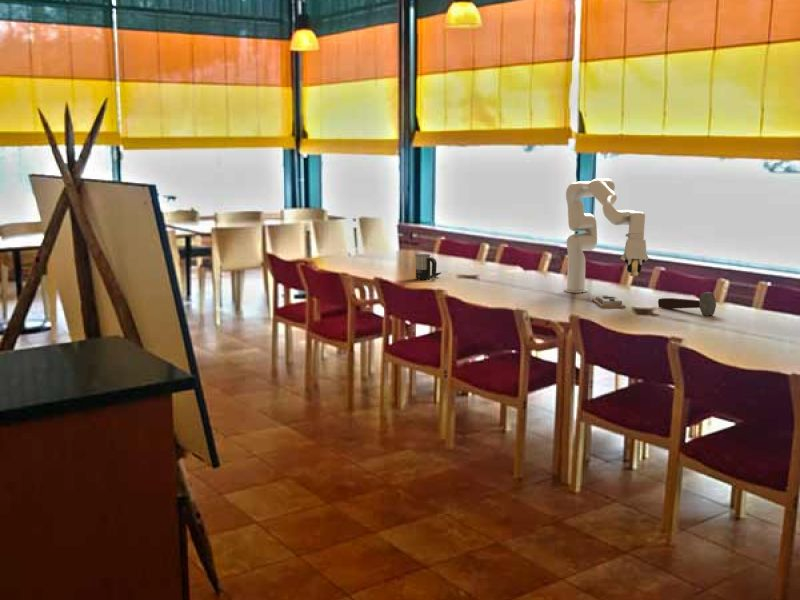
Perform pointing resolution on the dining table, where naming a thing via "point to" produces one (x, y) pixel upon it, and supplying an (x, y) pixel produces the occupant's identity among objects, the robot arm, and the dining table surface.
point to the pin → (634, 267)
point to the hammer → (692, 303)
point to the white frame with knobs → (608, 302)
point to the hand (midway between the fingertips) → (633, 271)
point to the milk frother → (425, 266)
